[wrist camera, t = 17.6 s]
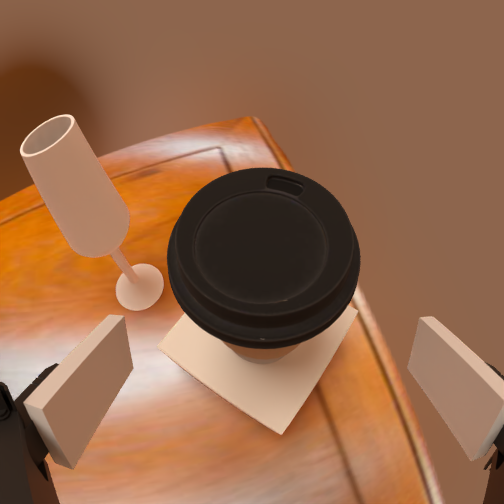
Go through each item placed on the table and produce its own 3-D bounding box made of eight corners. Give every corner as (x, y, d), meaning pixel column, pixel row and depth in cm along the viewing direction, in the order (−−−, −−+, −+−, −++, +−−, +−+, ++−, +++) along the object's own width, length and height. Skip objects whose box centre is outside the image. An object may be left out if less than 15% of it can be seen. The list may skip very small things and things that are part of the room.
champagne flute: (171, 269, 39) (104, 104, 18) (152, 317, 35) (47, 169, 15) (127, 258, 39) (46, 109, 19) (107, 302, 36) (-5, 166, 16)
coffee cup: (304, 278, 29) (337, 153, 16) (323, 377, 24) (398, 314, 11) (203, 289, 28) (164, 167, 16) (210, 391, 23) (154, 346, 11)
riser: (275, 432, 28) (281, 434, 21) (177, 364, 32) (156, 346, 25) (337, 336, 34) (358, 311, 27) (245, 280, 38) (242, 243, 31)
